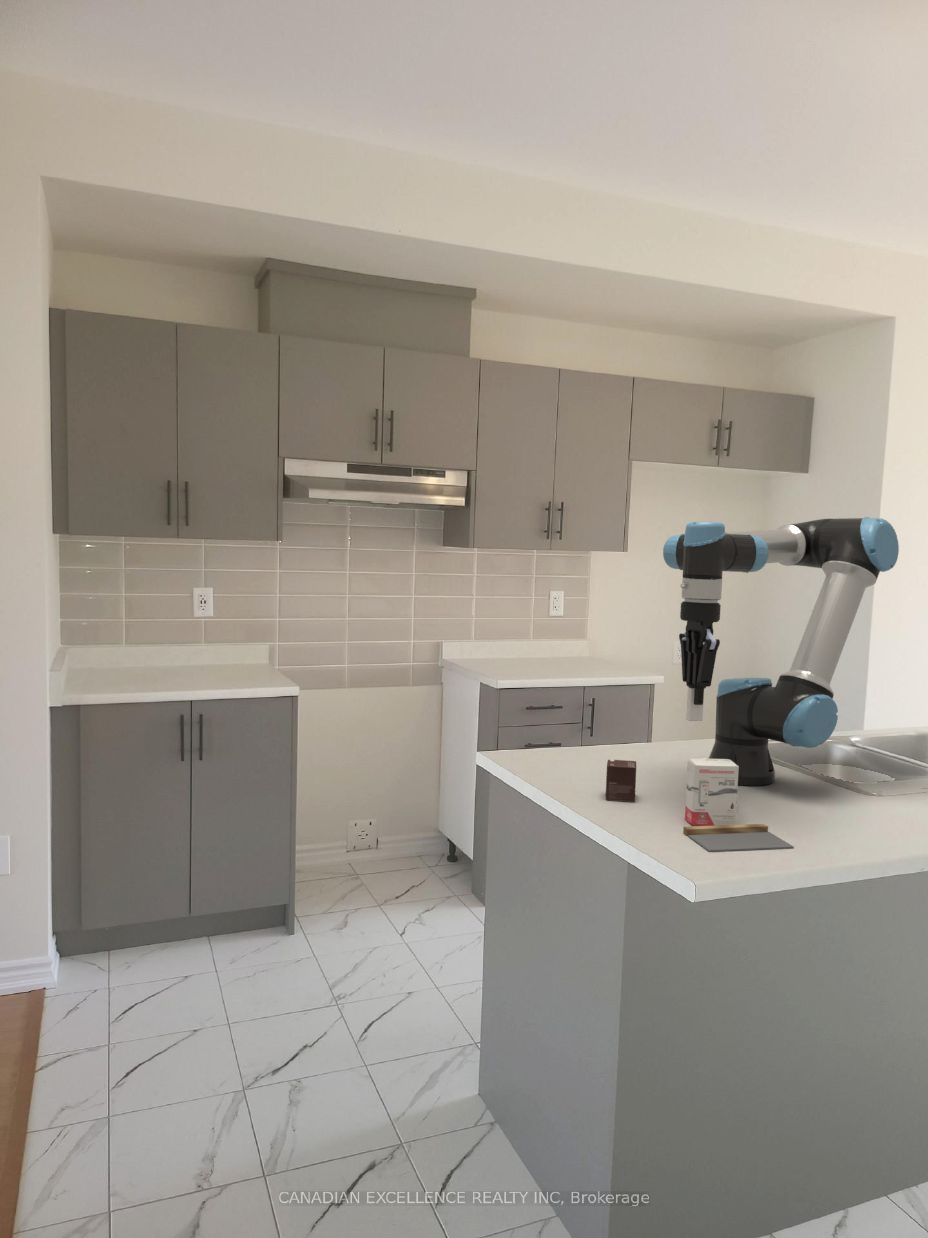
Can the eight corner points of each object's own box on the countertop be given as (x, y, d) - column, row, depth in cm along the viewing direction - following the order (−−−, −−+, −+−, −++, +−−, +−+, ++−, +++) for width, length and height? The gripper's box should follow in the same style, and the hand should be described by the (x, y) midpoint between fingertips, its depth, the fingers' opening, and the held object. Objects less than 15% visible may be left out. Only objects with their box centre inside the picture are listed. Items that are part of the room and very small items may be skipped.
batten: (763, 830, 161) (763, 823, 161) (767, 832, 160) (768, 826, 160) (683, 833, 158) (683, 826, 158) (686, 835, 157) (687, 829, 157)
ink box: (690, 826, 163) (693, 764, 162) (683, 818, 167) (686, 758, 167) (736, 827, 163) (739, 765, 162) (728, 819, 168) (731, 758, 167)
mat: (769, 833, 159) (769, 832, 159) (793, 848, 151) (793, 846, 151) (688, 836, 156) (688, 835, 156) (708, 852, 148) (708, 850, 148)
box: (635, 803, 177) (636, 767, 177) (605, 800, 178) (606, 765, 178) (635, 795, 183) (636, 760, 182) (606, 792, 184) (607, 758, 184)
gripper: (668, 598, 175) (662, 714, 177) (698, 602, 163) (691, 727, 164) (703, 599, 177) (697, 714, 179) (735, 603, 164) (727, 726, 166)
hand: (694, 720), depth 171 cm, fingers closed
